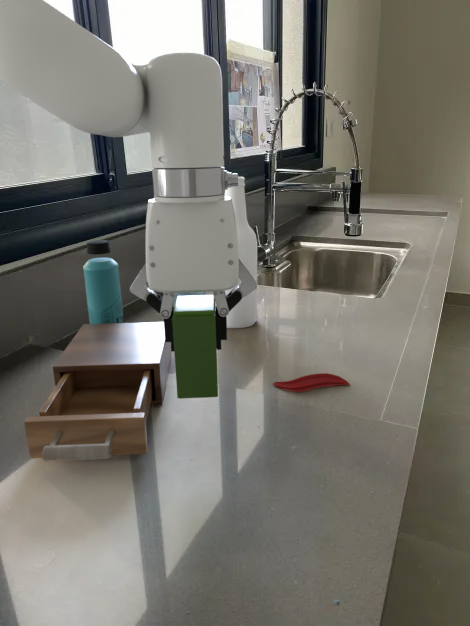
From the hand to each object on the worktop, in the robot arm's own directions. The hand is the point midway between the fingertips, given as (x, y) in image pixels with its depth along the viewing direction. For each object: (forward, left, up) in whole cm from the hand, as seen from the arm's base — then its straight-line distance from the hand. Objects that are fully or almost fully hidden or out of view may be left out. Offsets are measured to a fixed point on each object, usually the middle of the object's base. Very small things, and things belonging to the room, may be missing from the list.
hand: (196, 344), depth 58 cm
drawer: (-13, +3, -12) cm, 18 cm away
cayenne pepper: (+17, +15, -14) cm, 26 cm away
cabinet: (-13, +19, -13) cm, 27 cm away
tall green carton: (0, 0, -5) cm, 5 cm away
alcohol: (+7, +46, -14) cm, 48 cm away
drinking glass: (-4, +60, -14) cm, 62 cm away
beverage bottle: (-18, +35, -14) cm, 42 cm away
